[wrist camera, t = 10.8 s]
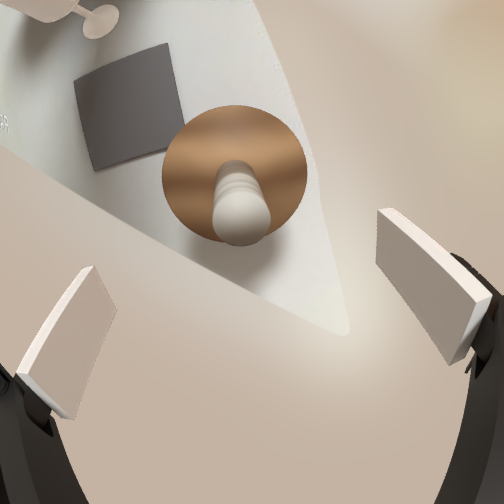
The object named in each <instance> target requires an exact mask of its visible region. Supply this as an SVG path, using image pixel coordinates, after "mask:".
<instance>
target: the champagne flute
mask: <svg viewBox="0 0 504 504" xmlns="http://www.w3.org/2000/svg"><path fill="white" fill-rule="evenodd" d="M78 2H79V0H0V3H1V4H4V5H6V6H9V7H11V8H13V9H15V10H18V11H20V12H22V13H24V14H26V15H29V16H31V17H33V18H35V19H37V20H39V21H41V22H43V23H50V22H54V21H56V20H59V19H61V18H63V17H64V16H66V15H67V14H69V13H70V12H71V11H73V12H75V13H77V14H79V15H81V16H83V17H85V18H86V19H85V21H84V24H83V34H84V35H85V36H86V37H87V38H89V39H98V38H101V37H103V36H105V35H106V34H108V33H109V32H110V31H111V30H112V29H113V28H114V27H115V25H116V23H117V21H118V18H119V11H118V9H117V8H116V7H115V6H113V5H110V4H107V5H102V6H99V7H97V8H96V9H94V10H93V11H92V12H91V11H89V10H87V9H85V8H83V7H82V6H80V5H78Z"/></svg>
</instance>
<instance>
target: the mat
mask: <svg viewBox="0 0 504 504" xmlns="http://www.w3.org/2000/svg"><path fill="white" fill-rule="evenodd" d="M73 82H74V88H75V93H76V99H77V104H78V109H79V114H80V118H81V123H82V127H83V132H84V136H85V140H86V144H87V147H88V151H89V155H90V159H91V162H92V166H93V169H94V171H97V170H100V169H102V168H105V167H108V166H110V165H113V164H116V163H119V162H122V161H125V160H128V159H131V158H134V157H137V156H140V155H143V154H147V153H150V152H153V151H157V150H160V149H164V148H167V147H169V145H170V143H171V141H172V140H173V139H174V137H175V136H176V134H177V133H178V132H179V131H180V130H181V129H182V128H183V127H184V126H185V124H184V119H183V115H182V110H181V106H180V101H179V96H178V92H177V87H176V82H175V77H174V73H173V68H172V63H171V58H170V52H169V47H168V43H164V44H161V45H158V46H155V47H152V48H149V49H146V50H143V51H140V52H138V53H135V54H132V55H130V56H127V57H125V58H122V59H120V60H117V61H115V62H112V63H110V64H108V65H106V66H103V67H101V68H99V69H97V70H95V71H93V72H91V73H89V74H87V75H85V76H83V77H81V78H79V79H77V80H75V81H73Z"/></svg>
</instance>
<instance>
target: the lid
mask: <svg viewBox="0 0 504 504" xmlns="http://www.w3.org/2000/svg"><path fill="white" fill-rule="evenodd" d="M306 183H307V164H306V158H305V155H304V152H303V149H302V147H301V144H300V142H299V140H298V139H297V137H296V136H295V135H294V133H293V132H292V131H291V130H290V129H289V127H288V126H287V125H286V124H284V123H283V122H282V121H281V120H279V119H278V118H276V117H275V116H273V115H271V114H269V113H267V112H265V111H262V110H260V109H256V108H253V107H248V106H223V107H218V108H215V109H211V110H209V111H206V112H204V113H202V114H200V115H198V116H197V117H195V118H193V119H192V120H191V121H190V122H188V123H187V124H186V125H185V126H184V127H183V128H182V129H181V130H180V131H179V132H178V133H177V134H176V136H175V137H174V139H173V140H172V141H171V143H170V145H169V147H168V149H167V152H166V155H165V158H164V162H163V167H162V184H163V190H164V194H165V197H166V200H167V202H168V204H169V206H170V208H171V210H172V211H173V213H174V214H175V216H176V217H177V218H178V219H179V220H180V221H181V222H182V223H183V224H184V225H185V226H186V227H187V228H189V229H190V230H191V231H193V232H195V233H196V234H198V235H200V236H202V237H205V238H207V239H210V240H213V241H218V242H225V243H227V244H230V245H233V246H248V245H252V244H254V243H256V242H258V241H259V240H261V239H262V238H263V237H264V236H266V235H268V234H270V233H272V232H274V231H275V230H276V229H278V228H279V227H281V226H282V225H283V224H284V223H285V222H286V221H287V220H288V219H289V218H290V217H291V216H292V215H293V213H294V212H295V211H296V209H297V208H298V206H299V204H300V202H301V200H302V197H303V195H304V192H305V188H306Z"/></svg>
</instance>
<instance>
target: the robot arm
mask: <svg viewBox="0 0 504 504" xmlns="http://www.w3.org/2000/svg"><path fill="white" fill-rule="evenodd" d="M377 211H378V212H377V247H376V264H377V265H378V267H379V268H380V269H381V270H382V272H383V273H384V274H385V275H386V277H387V278H388V279H389V281H390V282H391V283H392V284H393V286H394V287H395V288H396V290H397V291H398V292H399V294H400V295H401V296H402V298H403V299H404V300H405V302H406V303H407V305H408V306H409V307H410V309H411V310H412V311H413V313H414V314H415V315H416V317H417V318H418V320H419V321H420V323H421V324H422V326H423V327H424V328H425V330H426V332H427V333H428V334H429V336H430V337H431V339H432V340H433V342H434V343H435V345H436V346H437V348H438V350H439V351H440V353H441V354H442V356H443V357H444V359H445V361H446V362H447V364H448V365H452V364H454V363H456V362H458V361H460V360H462V359H464V358H465V356H466V354H467V353H468V351H469V349H470V347H472V348H473V349H474V351H475V354H474V356H473V357H472V359H471V361H470V363H469V364H468V366H467V368H466V371H465V373H468V371H469V370H470V368H471V375H470V382H469V388H468V394H467V400H466V405H465V410H464V415H463V419H462V423H461V428H460V432H459V435H458V439H457V443H456V446H455V449H454V453H453V456H452V459H451V462H450V465H449V468H448V471H447V473H446V476H445V479H444V481H443V484H442V486H441V489H440V491H439V494H438V496H437V498H436V500H435V503H434V504H504V295H503V296H502V295H501V294H500V293H499V292H498V291H497V290H496V289H495V288H494V287H493V286H492V285H491V284H490V283H489V282H488V281H487V280H486V279H485V278H484V277H483V276H482V275H481V274H478V271H476V270H475V269H474V268H472V266H471V265H470V264H469V263H468V262H467V261H465V260H464V259H463V258H461V257H459V256H457V255H455V254H453V253H450V254H449V253H448V252H447V251H446V250H445V249H443V248H442V247H441V246H440V245H439V244H438V243H436V242H435V241H434V240H433V239H431V238H430V237H429V236H428V235H427V234H426V233H424V232H423V231H422V230H421V229H419V228H418V227H417V226H416V225H414V224H413V223H412V222H410V221H409V220H408V219H406V218H405V217H404V216H403V215H401V214H400V213H399V212H397V211H396V210H395V209H393V208H385V209H379V210H377ZM116 312H117V309H116V307H115V306H114V304H113V302H112V300H111V298H110V296H109V294H108V292H107V291H106V288H105V287H104V285H103V283H102V281H101V279H100V277H99V275H98V272H97V270H96V268H95V266H89V267H85V268H82V269H81V271H80V272H79V273H78V275H77V276H76V277H75V279H74V280H73V281H72V283H71V284H70V286H69V287H68V288H67V290H66V291H65V293H64V294H63V295H62V297H61V298H60V300H59V301H58V303H57V304H56V306H55V307H54V309H53V310H52V312H51V313H50V315H49V316H48V318H47V319H46V321H45V322H44V324H43V326H42V327H41V329H40V330H39V332H38V334H37V335H36V337H35V339H34V340H33V342H32V344H31V345H30V347H29V349H28V351H27V352H26V354H25V356H24V358H23V360H22V362H21V363H20V365H19V367H18V369H17V371H16V374H15V376H14V377H13V378H12V376H11V375H10V374H9V373H8V372H7V371H6V370H5V369H4V367H3V366H2V365H1V364H0V504H89V503H88V501H87V499H86V497H85V495H84V493H83V491H82V489H81V487H80V485H79V483H78V480H77V478H76V476H75V474H74V471H73V469H72V467H71V464H70V462H69V459H68V457H67V454H66V452H65V449H64V446H63V444H62V440H61V438H60V435H59V431H58V428H57V425H56V422H55V420H54V418H53V417H52V416H51V415H50V413H51V410H53V411H54V412H55V413H56V414H57V415H59V416H60V417H61V418H64V419H70V420H75V417H76V414H77V411H78V408H79V405H80V402H81V399H82V396H83V393H84V390H85V387H86V385H87V382H88V379H89V377H90V374H91V371H92V368H93V366H94V363H95V361H96V358H97V356H98V353H99V351H100V348H101V346H102V344H103V341H104V338H105V337H106V334H107V332H108V329H109V327H110V325H111V323H112V320H113V318H114V316H115V314H116Z"/></svg>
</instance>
